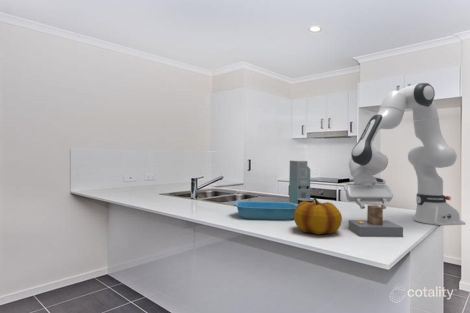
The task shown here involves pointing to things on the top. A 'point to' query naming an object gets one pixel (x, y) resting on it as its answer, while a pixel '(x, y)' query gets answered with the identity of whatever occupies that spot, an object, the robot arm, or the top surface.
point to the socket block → (375, 229)
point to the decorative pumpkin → (317, 217)
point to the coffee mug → (305, 200)
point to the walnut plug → (375, 215)
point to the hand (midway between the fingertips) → (373, 208)
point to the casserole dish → (266, 210)
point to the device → (299, 181)
